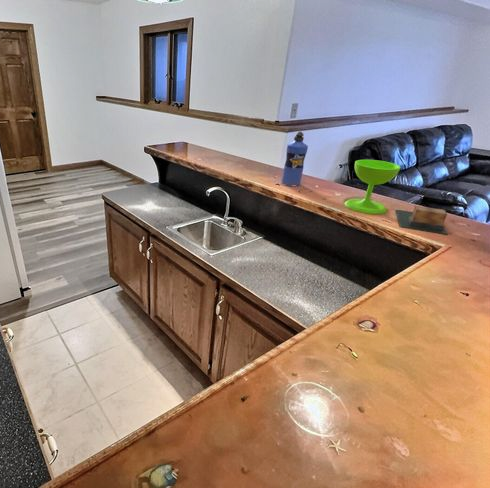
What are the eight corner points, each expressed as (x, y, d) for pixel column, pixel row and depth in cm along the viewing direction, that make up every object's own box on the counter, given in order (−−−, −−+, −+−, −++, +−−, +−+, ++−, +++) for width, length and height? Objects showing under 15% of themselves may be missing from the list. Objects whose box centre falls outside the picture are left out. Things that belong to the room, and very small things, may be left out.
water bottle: (278, 180, 180) (287, 130, 168) (297, 181, 179) (306, 130, 168) (283, 186, 171) (292, 133, 160) (302, 186, 171) (313, 134, 160)
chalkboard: (436, 217, 137) (437, 215, 136) (447, 237, 120) (448, 234, 120) (395, 211, 142) (395, 209, 142) (400, 229, 126) (401, 226, 125)
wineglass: (375, 217, 136) (389, 171, 128) (336, 205, 148) (347, 162, 140) (393, 208, 145) (408, 165, 137) (356, 198, 156) (367, 158, 148)
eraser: (439, 225, 127) (446, 209, 125) (442, 230, 123) (449, 214, 120) (407, 220, 131) (413, 205, 129) (409, 225, 127) (415, 209, 124)
